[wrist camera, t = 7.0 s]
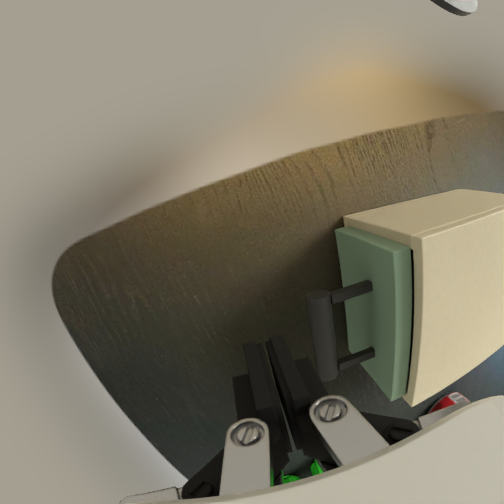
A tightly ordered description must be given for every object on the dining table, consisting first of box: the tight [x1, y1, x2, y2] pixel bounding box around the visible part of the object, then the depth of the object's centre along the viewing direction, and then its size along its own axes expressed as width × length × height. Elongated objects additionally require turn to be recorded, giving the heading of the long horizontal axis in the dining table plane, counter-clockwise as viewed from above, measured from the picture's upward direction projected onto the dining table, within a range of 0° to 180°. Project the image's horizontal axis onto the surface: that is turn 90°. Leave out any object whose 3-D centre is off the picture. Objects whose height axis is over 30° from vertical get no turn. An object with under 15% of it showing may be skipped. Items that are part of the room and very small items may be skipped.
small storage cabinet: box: [343, 189, 504, 407], centre depth 18 cm, size 14×12×9 cm
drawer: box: [305, 226, 414, 401], centre depth 18 cm, size 17×10×7 cm, turn 103°
